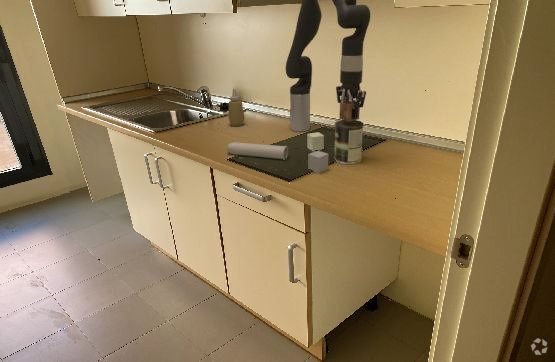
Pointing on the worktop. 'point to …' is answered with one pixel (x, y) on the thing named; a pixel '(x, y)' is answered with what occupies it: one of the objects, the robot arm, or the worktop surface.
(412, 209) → the worktop surface
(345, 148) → the coffee can
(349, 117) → the walnut block
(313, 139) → the pale sage block
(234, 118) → the squeeze bottle
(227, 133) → the worktop surface
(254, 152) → the tube
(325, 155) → the slate grey block
